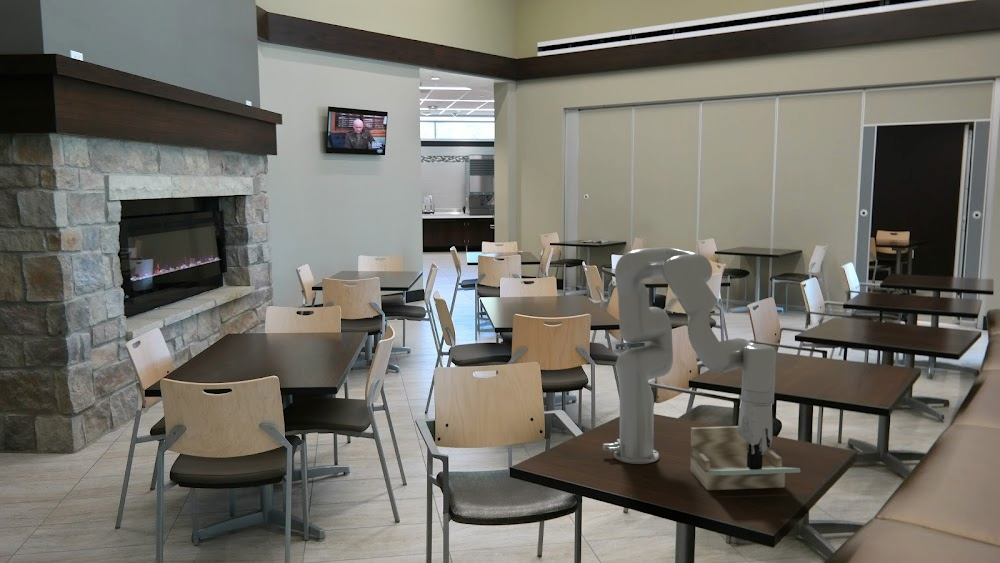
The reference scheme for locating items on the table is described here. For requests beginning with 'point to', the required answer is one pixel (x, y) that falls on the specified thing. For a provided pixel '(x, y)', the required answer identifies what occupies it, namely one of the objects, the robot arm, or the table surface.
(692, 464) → the tray
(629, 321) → the robot arm
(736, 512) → the table surface
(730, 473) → the panel
